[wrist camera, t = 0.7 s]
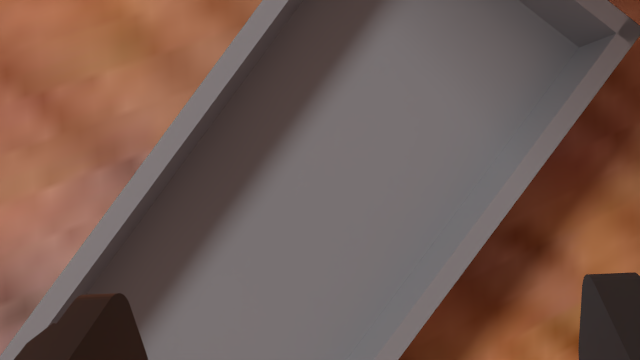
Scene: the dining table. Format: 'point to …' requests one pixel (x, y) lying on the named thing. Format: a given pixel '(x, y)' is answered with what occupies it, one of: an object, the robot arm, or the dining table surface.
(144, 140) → the dining table surface
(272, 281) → the bin
